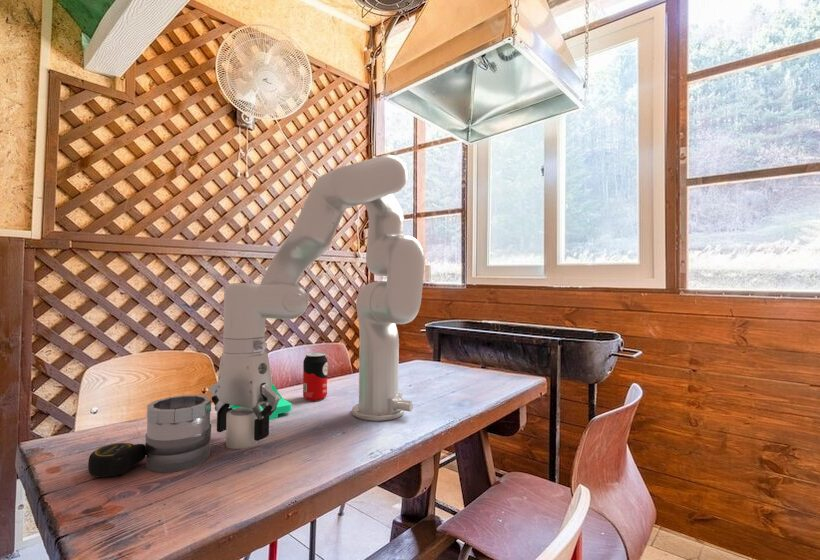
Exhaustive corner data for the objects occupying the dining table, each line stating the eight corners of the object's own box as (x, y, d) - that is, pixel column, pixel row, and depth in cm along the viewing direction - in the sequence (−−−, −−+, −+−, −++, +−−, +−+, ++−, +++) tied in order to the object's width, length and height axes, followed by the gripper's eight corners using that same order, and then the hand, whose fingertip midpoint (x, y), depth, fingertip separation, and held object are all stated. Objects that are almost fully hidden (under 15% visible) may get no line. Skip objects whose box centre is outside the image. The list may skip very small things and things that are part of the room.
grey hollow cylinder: (223, 454, 74) (224, 398, 74) (171, 477, 65) (172, 414, 65) (185, 444, 78) (186, 392, 78) (131, 465, 69) (132, 406, 69)
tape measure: (120, 482, 63) (120, 458, 63) (76, 481, 63) (77, 457, 63) (148, 463, 70) (149, 441, 70) (109, 462, 70) (109, 440, 70)
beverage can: (309, 403, 105) (309, 357, 105) (299, 397, 110) (299, 353, 110) (331, 399, 109) (331, 354, 109) (320, 394, 114) (321, 351, 114)
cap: (265, 439, 81) (266, 408, 81) (242, 451, 75) (242, 417, 75) (243, 435, 83) (243, 404, 83) (218, 445, 78) (219, 412, 78)
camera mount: (240, 426, 88) (241, 379, 88) (229, 417, 94) (230, 373, 94) (293, 415, 96) (293, 371, 96) (280, 407, 102) (280, 366, 102)
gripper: (292, 347, 79) (290, 435, 79) (227, 340, 86) (226, 421, 86) (263, 352, 72) (262, 449, 72) (196, 345, 79) (194, 433, 79)
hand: (242, 434), depth 79 cm, fingers open, 9 cm apart
